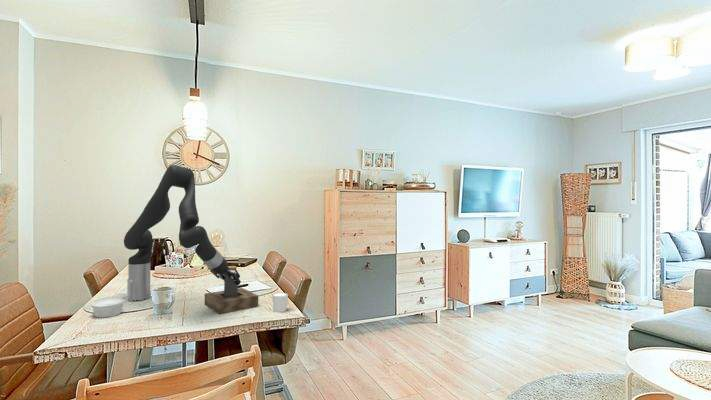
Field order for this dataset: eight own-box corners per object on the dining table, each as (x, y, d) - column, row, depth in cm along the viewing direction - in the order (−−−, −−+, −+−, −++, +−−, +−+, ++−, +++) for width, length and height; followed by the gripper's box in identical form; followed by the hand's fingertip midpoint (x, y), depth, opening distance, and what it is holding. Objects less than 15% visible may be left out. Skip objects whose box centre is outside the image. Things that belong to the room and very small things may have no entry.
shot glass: (290, 308, 168) (290, 293, 167) (282, 313, 161) (283, 297, 161) (277, 307, 170) (277, 291, 170) (269, 311, 163) (269, 295, 163)
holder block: (219, 314, 159) (219, 302, 159) (204, 304, 172) (204, 293, 172) (258, 306, 171) (258, 295, 170) (241, 297, 184) (241, 287, 184)
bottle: (225, 297, 174) (226, 265, 174) (238, 297, 174) (239, 265, 174) (222, 301, 168) (223, 268, 168) (235, 301, 169) (236, 268, 168)
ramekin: (89, 320, 150) (89, 307, 150) (94, 312, 160) (94, 300, 160) (122, 316, 155) (122, 303, 155) (124, 309, 165) (124, 297, 165)
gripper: (232, 255, 161) (250, 277, 172) (207, 252, 167) (226, 274, 178) (222, 269, 157) (242, 291, 168) (197, 266, 162) (217, 288, 173)
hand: (233, 282), depth 173 cm, fingers closed on bottle, 5 cm apart
